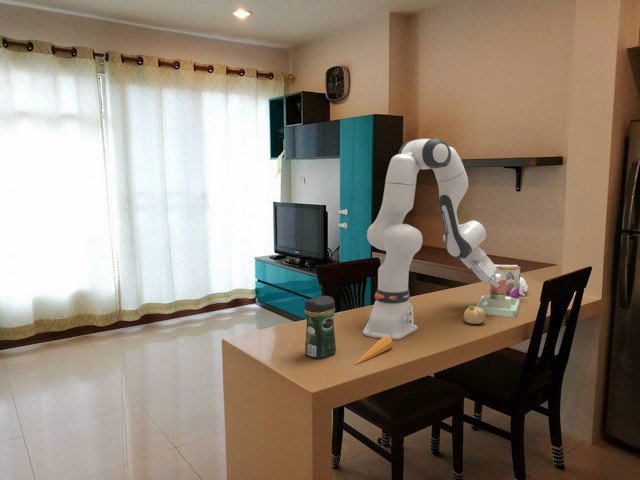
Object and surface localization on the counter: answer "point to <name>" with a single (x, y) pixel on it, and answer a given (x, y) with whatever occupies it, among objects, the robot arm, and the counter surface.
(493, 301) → the cream rectangular block
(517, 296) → the candy bar box
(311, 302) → the coffee jar
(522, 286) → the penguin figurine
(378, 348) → the carrot
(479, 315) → the onion
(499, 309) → the mint green tray
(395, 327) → the robot arm
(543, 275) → the counter surface
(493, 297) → the pink glass candle
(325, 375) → the counter surface
